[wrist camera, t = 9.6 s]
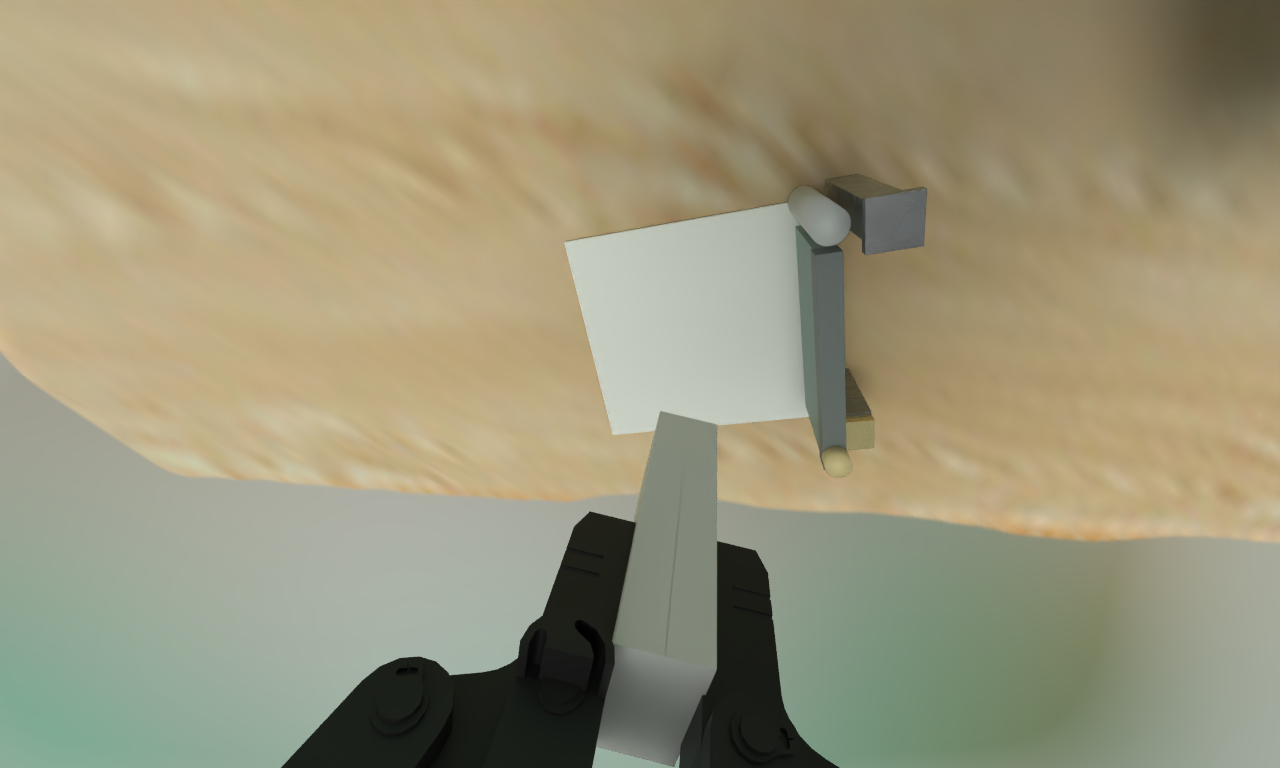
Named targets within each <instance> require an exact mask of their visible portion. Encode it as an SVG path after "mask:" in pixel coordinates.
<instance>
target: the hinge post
mask: <svg viewBox="0 0 1280 768" xmlns="http://www.w3.org/2000/svg"><path fill="white" fill-rule="evenodd" d="M825 184H826V197H827V198H829V199H830V200H832V201H833V202H834V203H836V204H837V205H839V206H840V207H842V208H843V209H845V210H846V211H847V212H848V214H849V216H850V219H851V227H850V230H851V231H852V232H853V233H854V234H856V235H857V236H858V237H859V238H861V239H862V252H863V253H864V254H865V255H868V254H875V253H881V252H888V251H895V250H901V249H908V248H915V247H921V246H924V235H925V215H926V196H927V188H924V187H919V188H913V189H907V190H900V189H897V188H895V187H892V186H889V185H886V184H884V183H881V182H878V181H875V180H873V179H870V178H867V177H864V176H862V175H859V174H854V175H849V176H843V177H838V178H832V179H827V180H825Z"/></svg>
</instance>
